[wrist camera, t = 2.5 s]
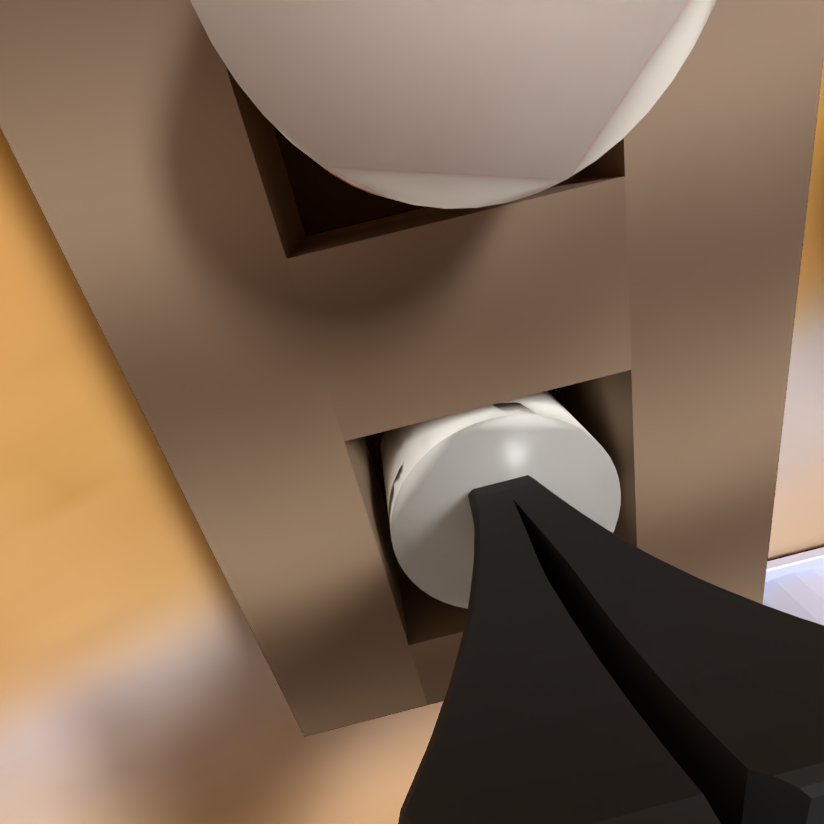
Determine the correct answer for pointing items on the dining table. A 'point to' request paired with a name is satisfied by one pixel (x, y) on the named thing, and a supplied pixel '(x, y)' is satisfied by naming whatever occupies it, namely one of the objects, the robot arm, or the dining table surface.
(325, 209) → the dining table surface
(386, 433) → the white domed canister
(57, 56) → the housing
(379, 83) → the plunger
